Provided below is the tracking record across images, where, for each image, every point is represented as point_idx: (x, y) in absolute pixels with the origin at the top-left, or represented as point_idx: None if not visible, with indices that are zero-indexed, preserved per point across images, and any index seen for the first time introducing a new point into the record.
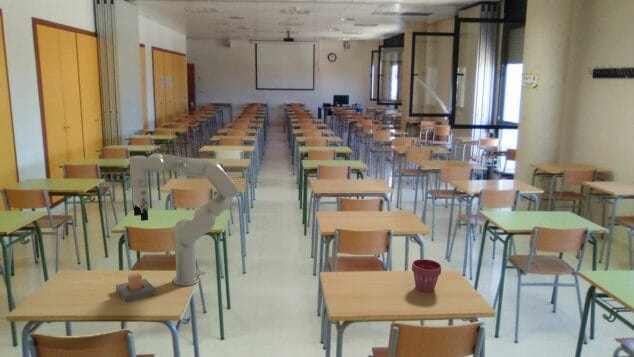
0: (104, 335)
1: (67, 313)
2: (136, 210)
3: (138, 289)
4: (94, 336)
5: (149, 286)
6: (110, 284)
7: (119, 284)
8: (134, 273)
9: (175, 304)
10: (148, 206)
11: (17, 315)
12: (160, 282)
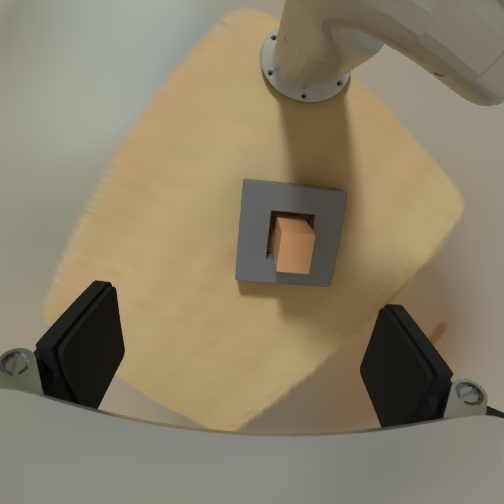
0: None
1: (287, 385)
2: (95, 380)
3: (315, 238)
4: None
5: (317, 200)
6: (175, 266)
7: (236, 269)
8: (280, 248)
9: (427, 180)
10: (492, 423)
11: None
12: (259, 131)
